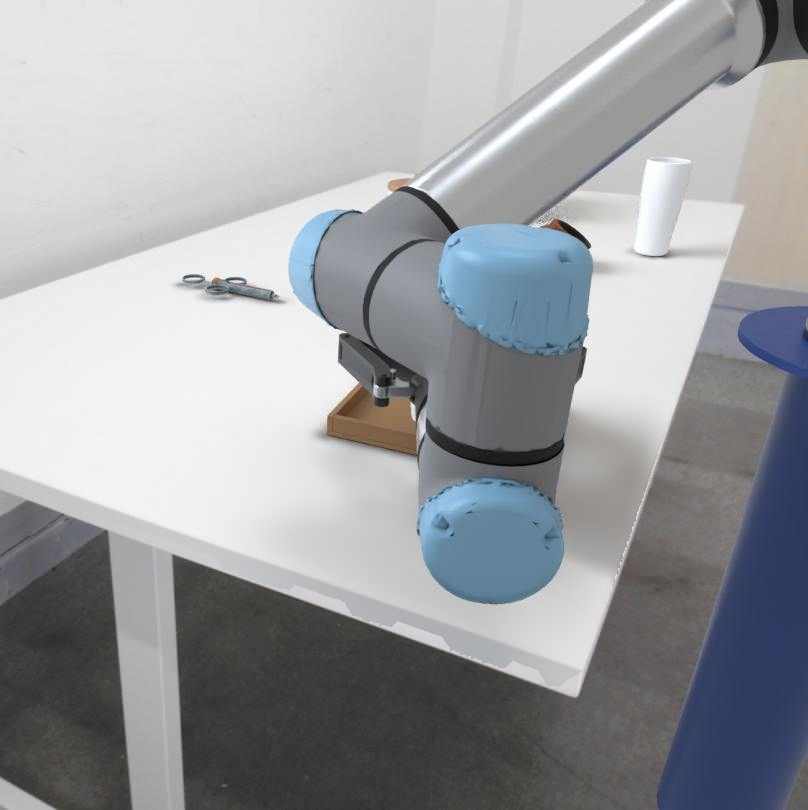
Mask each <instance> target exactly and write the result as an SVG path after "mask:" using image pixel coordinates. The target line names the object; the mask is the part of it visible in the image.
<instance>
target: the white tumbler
mask: <svg viewBox="0 0 808 810" xmlns="http://www.w3.org/2000/svg"><path fill="white" fill-rule="evenodd" d="M692 168H693V161H692V160H690V159H687V158H680V157H669V156H654V157H653V156H652V157H648V158H647V159H646V163H645V166H644V171H643V175H642V179H641V186H640V195H639V201H638V203H639V204H638V211H637V221H636V228H635V229H636V230H635V237H634V241H633V252H635V253H637V254H638V255H643V256H647V257H664V256H665V255H668V252H669V249H670V246H671V241H672V238H673V235H674V232H675V228H676V225H677V222H678V218H679V216H680V212H681V209H682V207H683V204H684V200H685V197H686V194H687V191H688V187H689V182H690V178H691V174H692Z"/></svg>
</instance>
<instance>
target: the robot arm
mask: <svg viewBox="0 0 808 810" xmlns="http://www.w3.org/2000/svg"><path fill="white" fill-rule="evenodd" d="M798 60H808V0H644V1H643V4H642V5H640V6H639V7H638V8H636V9H635V10H634V11H632V12H631V13H630V14H628V15H627V16H626V17H624V18H623V19H621V20H620V21H619V22H617V23H616V24H615V25H614V26H612V27H611V28H610V29H609V30H607V31H606V32H604V33H603V34H601V35H600V36H599V37H598V38H596V39H595V40H593V41H592V42H591V43H590V44H589V45H587V46H585V47H584V48H583V49H582V50H580V51H579V52H578V53H576V54H575V55H573V57H570V59H568V60H567V61H566V62H564V63H563V64H562V65H560V66H558V68H556V69H555V70H554V71H553V72H551V73H550V74H548V75H547V76H546V77H545V78H543V79H542V80H540V81H539V82H537V83H536V84H535V85H534V86H533V87H531V88H530V89H528V91H526V92H524V93H523V94H522V95H521V96H519V97H518V98H516V99H515V100H514V101H513V102H511V103H510V104H508V105H507V106H506V107H505V108H503V109H502V110H500V111H499V112H498V113H497V114H495V115H494V116H492V118H490V119H489V120H487V121H486V122H485V123H483V124H482V125H480V126H479V127H478V128H477V129H476V130H474V131H473V132H471V133H470V134H468V135H467V136H466V137H465V138H463V139H462V140H461V141H459V142H458V143H457V144H456V145H454V146H453V147H452V148H450V149H449V150H447V151H446V152H445V153H444V154H442V155H441V156H439V157H438V158H437V159H436V160H434V161H433V162H432V163H430V164H429V165H428V166H426V167H425V168H423V169H422V170H421V171H420V172H418V173H416V174H417V175H416V176H415V175H414V176H413V177H411V178H412V179H410V180H409V181H408V182H406V183H405V184H404V185H402V186H401V187H400V188H398V189H397V190H395V191H394V192H393V193H391V194H390V195H389V196H388V195H387V196H385V197H384V198H383V199H381V200H379V202H377V203H376V204H375V205H373V206H371V208H369V209H368V210H366V211H364V212H363V211H361V210H357V209H354V208H352V209H351V208H350V209H331V210H327V211H323V212H321V213H319V214H317V215H315V216H314V217H312V218H311V219H310V220H308V221H307V222H306V223H305V224H304V226H303V227H302V228H301V229H300V231H299V232H298V234H297V235H296V237H295V238H294V241H293V243H292V245H291V248H290V251H289V256H288V265H287V271H288V279H289V284H290V286H291V288H292V293H293V295H295V296H296V298H297V299H298V301H299V302H300V303H301V304H302V305H303V306H304V307H305V308H307V309H308V310H309V311H311V312H312V313H313V314H314V315H316V316H317V317H318V318H320V319H321V320H322V321H324V322H325V323H326V325H327V326H329V327H332V328H333V329H334V330H339V331H341V332H342V333H339V334H338V345H337V346H338V347H337V348H338V350H337V363H338V364H339V365H340V366H341V367H342V368H343V369H344V370H345V371H347V372H348V373H349V374H350V376H352V377H353V378H354V380H355V381H357V382H358V384H359V383H360V384H361V385H362V386H363V387H364V388H365V389H366V390H367V391H369V392H370V393H371V394H372V399H373V404H374V405H375V406H377V407H387V406H388V405H389V400H393V399H394V398H409V400H410V402H411V403H412V404H414V405H415V415H416V442H417V455H416V457H417V469H418V485H417V486H418V514H417V522H416V534H417V536H418V537H419V540H420V547H421V553H422V558H423V562H424V565H425V568H426V569H427V571H428V573H429V574H430V576H431V577H432V578H433V579H434V581H435V582H436V583H437V584H438V585H439V586H440V587H442V588H443V590H446V592H448V593H450V594H451V595H453V596H455V597H457V598H459V599H462V600H464V601H467V602H470V603H471V602H472V603H478V604H481V605H506V604H513V603H517V602H520V601H523V600H525V599H528V598H530V597H532V596H534V595H536V594H537V593H539V592H540V591H541V590H543V589H544V588H545V587H546V586H547V585H548V584H550V582H551V581H552V580H553V579H554V577H555V576H556V575H557V573H558V571H559V570H560V567H561V565H562V562H563V558H564V554H565V540H564V539H565V538H564V534H563V528H564V519H563V517H561V515H562V512H561V510H560V508H559V506H558V505H557V504H556V497H557V496H556V495H557V487H558V482H559V476H560V471H561V468H562V467H561V466H562V461H563V456H564V450H565V443H566V442H565V437H566V432H567V427H568V422H569V416H570V411H571V406H572V402H573V397H574V392H575V387H576V384H578V382H579V381H580V380H581V379H582V377H583V373H584V368H585V364H586V357H587V354H588V353H587V351H588V348H587V347H586V346H584V343H585V340H586V337H587V336H588V332H589V331H588V330H589V325H590V318H589V314H588V313H589V312H588V311H589V304H590V295H591V288H592V279H593V271H594V261H593V256H592V253H591V252H590V249H588V248H587V247H586V246H585V245H584V244H583V243H582V242H581V241H580V240H578V239H577V238H575V237H573V236H571V235H569V234H567V233H564V232H561V231H557V230H553V229H549V228H539V227H537V226H536V227H534V226H533V225H535V224H536V223H537V222H538V221H540V220H541V219H542V218H543V217H545V216H546V215H547V214H549V213H550V212H551V211H552V210H554V209H555V208H556V207H558V206H559V205H560V204H562V202H564V201H565V200H566V199H568V198H569V197H570V196H571V195H573V194H575V192H577V191H578V190H579V189H581V188H582V187H583V186H585V184H587V183H588V182H590V181H591V180H592V179H593V178H595V177H596V176H597V175H599V173H601V172H602V171H603V170H605V169H606V168H607V167H609V166H610V165H611V164H613V162H615V161H617V159H619V158H620V157H621V156H623V155H624V154H626V153H627V152H628V151H629V150H630V149H632V148H633V147H634V146H636V145H637V144H638V143H639V142H640V141H642V140H644V138H645V137H647V136H648V135H649V134H651V133H652V132H653V131H654V130H655V129H657V128H658V127H660V126H661V125H662V124H663V123H665V122H666V121H668V120H669V119H670V118H671V117H672V116H674V115H675V114H676V113H677V112H679V111H680V110H682V109H683V108H684V107H685V106H687V105H688V104H689V103H690V102H692V101H693V100H694V99H695V98H697V97H698V96H699V95H701V94H702V93H703V92H705V91H706V90H707V91H715V90H717V91H718V90H722V89H726V88H728V87H730V86H733V85H735V84H737V83H738V82H740V81H741V80H743V79H744V78H745V77H747V76H748V75H749V74H750V73H751V72H753V71H754V70H756V69H757V68H759V67H763V66H766V65H769V64H773V63H774V64H775V63H780V62H786V61H798ZM803 336H804V338H805V339H806V340H807V341H808V317H807V320H806V323H805V327H804V330H803Z"/></svg>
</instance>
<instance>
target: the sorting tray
mask: <svg viewBox="0 0 808 810" xmlns="http://www.w3.org/2000/svg"><path fill="white" fill-rule="evenodd" d="M326 416H327V417H326V435H328V436H331V437H336V438H340V439H346V440H349V441H354V442H358V443H362V444H367V445H372V446H375V447H380V448H384V449H388V450H392V451H397V452H402V453H406V454H410V455H414V456H417V442H416V422H415V421H414V420H413V418H412V414H411V402H410V400H409V398H394V399H393V400H389V405H388V406H387V407H377V406H375V405H374V404H373V399H372V394H371V393H370V392H369V391H367V390H366V389H365V388H364V387H363V386H362V385H361V384H360V383H359V382H358V383H357V384H356V385H355V387H353V388H352V390H351V391H350V392H349V393H348V394H347V395H346V396H345V397H344V398H343V399H341V401H340V402H339V403H338V404H337V405H336V406H335V407H334V408H333V409H332V410H331V411H330V412H329V413H328V414H327V415H326Z"/></svg>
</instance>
